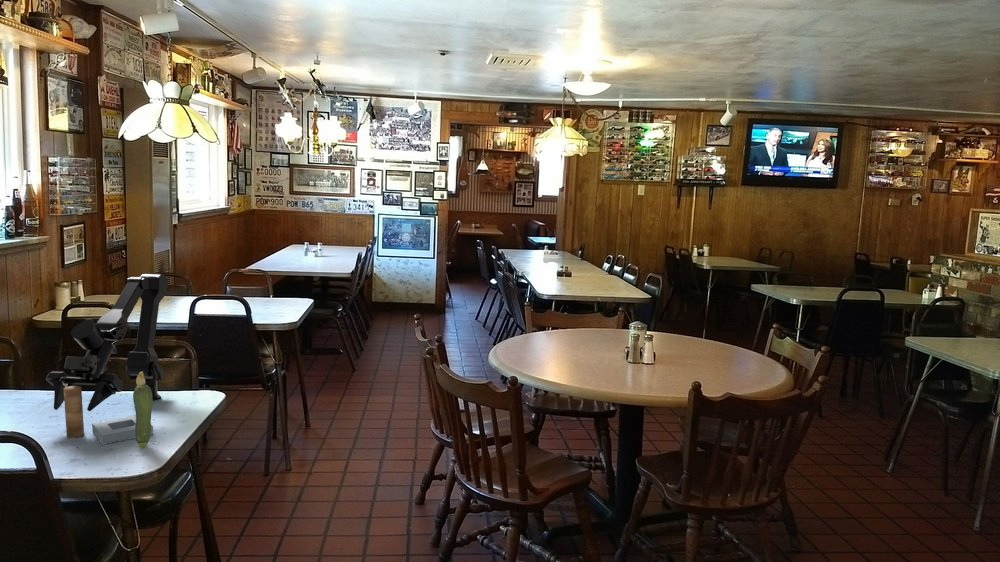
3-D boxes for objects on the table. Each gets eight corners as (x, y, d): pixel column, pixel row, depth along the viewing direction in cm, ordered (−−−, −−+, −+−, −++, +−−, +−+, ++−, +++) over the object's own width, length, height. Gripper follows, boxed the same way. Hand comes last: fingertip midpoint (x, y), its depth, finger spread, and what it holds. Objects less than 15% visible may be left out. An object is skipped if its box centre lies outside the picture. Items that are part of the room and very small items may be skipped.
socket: (92, 432, 191) (91, 423, 191) (140, 423, 199) (140, 414, 198) (102, 444, 182) (102, 435, 182) (153, 434, 190) (152, 425, 189)
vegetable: (136, 444, 182) (133, 368, 180) (155, 442, 184) (151, 367, 181) (134, 450, 178) (130, 373, 176) (153, 448, 180) (150, 371, 177)
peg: (65, 434, 188) (62, 387, 187) (82, 431, 191) (79, 384, 189) (68, 439, 185) (65, 390, 184) (85, 435, 188) (82, 388, 186)
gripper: (48, 342, 190) (20, 393, 181) (115, 344, 189) (90, 396, 180) (69, 363, 199) (44, 414, 190) (133, 366, 198) (111, 416, 188)
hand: (71, 409), depth 187 cm, fingers open, 9 cm apart
